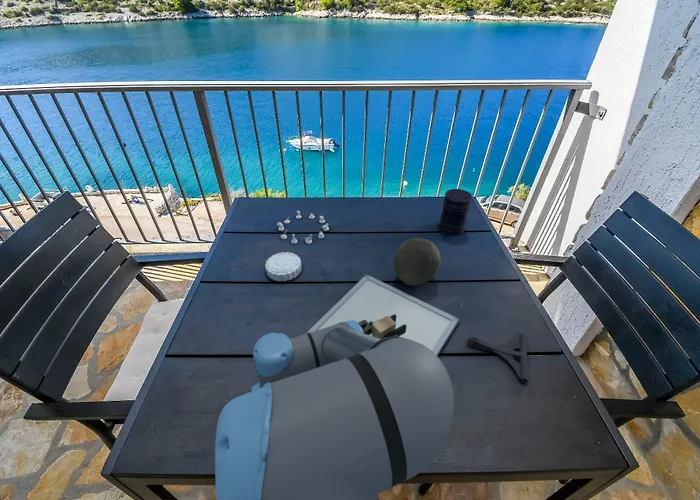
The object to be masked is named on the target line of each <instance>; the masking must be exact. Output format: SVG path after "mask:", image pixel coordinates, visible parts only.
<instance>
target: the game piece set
mask: <svg viewBox="0 0 700 500" xmlns="http://www.w3.org/2000/svg"><path fill="white" fill-rule="evenodd" d="M296 214H297V215H296V216H295V218H296V219H297V220H299V219H302V215H301V212H300V210H296ZM308 218H309V219H312V220H313V219H315V218H316V216H315V215H314V214H313V213H312V212H311V213H310V215H309V216H308ZM319 218H320V219H319V221H318V222H319V224H324V223H325V222H326V220H325V217H324V216H323V215H319ZM290 222H291V220H289V216H287V219H285V220H284V221H283V222H280V221H279V222H277V223H276V225H277V227H278V231H279V232H282V231H284V230H285V231H284V233H283V234H281V235H280V239H281V240H285V239H287V238H288V236H287V235H286V233H287V231H288V229H285V227H284V225H283V223H284V224H290ZM321 228H322V230H323V231H324V232H325V231H326V232H327V231H329V230H330V227H329V223H325V224H324V225H322V226H321ZM291 236H292V238H291V242H290V243H291V244H294V245H295V244H297V243H298V239H297V238H296V237H295V233H292V235H291ZM312 236H313V234H312V233H311V234H310V235H309V236H308V237H305V236H304V241H305V243H306V244H308V245H309V244H312V243H313V240H312V239H313V237H312ZM317 238H318V239H324V238H325V235H324V233H323V232H322V231H319V233H318V236H317Z"/></svg>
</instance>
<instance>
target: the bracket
mask: <svg viewBox="0 0 700 500" xmlns="http://www.w3.org/2000/svg"><path fill="white" fill-rule="evenodd" d="M467 344H468V346H470V347H471V348H475V349H479V350H482V351H486V352H490V353H493V354H496V355H498V356H499V357H501V358H502V359H504V360H505V361H506V362H507V363H508V364H509V365H510V366H511V367H512V369H513V370H514V372H515V373H516V375H517V378H518V379H520V382H521V383H529V372H528V371H529V370H528V350H527V349H528V348H527V335H526V334H525V333H520V334H519V335H518V336H517V337H516V338H515V339H514V340H513V341H512V342H510V343H508V344H502V345H498V344H492V343H489V342H488V341H487V342H486V341H484V340H482V339H480V338H477V337H476V336H470V337H468V339H467ZM518 350H519V351H518ZM516 360H519V362H518V361H516Z"/></svg>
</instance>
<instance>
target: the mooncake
mask: <svg viewBox="0 0 700 500" xmlns="http://www.w3.org/2000/svg"><path fill="white" fill-rule="evenodd" d="M264 268H265V273H266V276H267V277H269V279H271V280H273V281H275V282H276V281H277V282H287V281H292V280H293V279H295V278H297V276H299V275H300V274H301V272H302V260H301V257H300V256H299V255H298V254H295V253H294V252H289V251H286V252H284V251H281V252H278V253H275V254H273V255H271V257H269V258H268V259H267V260H266V261H265V265H264Z"/></svg>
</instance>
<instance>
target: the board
mask: <svg viewBox="0 0 700 500" xmlns="http://www.w3.org/2000/svg"><path fill="white" fill-rule="evenodd" d="M394 314H395V315H396V329H397V328H398V327H400V326H402V325H404V324H405V325H406V326H407V327H406V333H404V334H403V335H401V336H399V337H402V338H406V339H410V340H413V341H416V342H418V343H420V344H423V345H424V346H426V347H427V348H429V349H430V350H431V351H432V352H433V353H434V354H435V355H436V356H437V357H439V354H440V353H441V352H442V349H443V348H444V346H445V345H446V343H447V342H448V340H449V338H450V337H451V335H452V334H453V332H454V331H455V329H456V327H457V325H458V324H459V321H460V319H459V318H458V317H456V316H454V315H451V314H450V313H447V312H446V311H443V310H441V309H440V308H438V307H435V306H434V305H431V304H430V303H427V302H425V301H423V300H421V299H418V298H416V297H414V296H412V295H411V294H408V293H406V292H404V291H402V290H400V289H397V288H396V287H394V286H392V285H389V284H388V283H385V282H383V281H381V280H379V279H377V278H375V277H373V276H370V275H369V274H365V275H363V277H362V278H361V279H360V280H359V281H358V282H357V283H355V284H354V285H353V287H352V288H351V289H350V290H349V291H348V292H347V293H345V294H344V296H342V298H341V299H340V300H339V301H337V302H336V303H335V304H334V305H333V306H332V307H331V308H330V309H329V310H328V311H327V312H326V313H325V314H323V316H322V317H321V318H320V319H319V320H318V321H317V322H316V323H315V324H314V325H313V326H312V327H310V329H309V330H308V331H306V332H305V334H308V333H311V332H314V331H317V330H321V329H324V328H327V327H330V326H333V325H336V324H338V323H340V322H346V321H350V320H355V321H357V322H360V321H363V320H366V321H367V322H368V323H369V322H370V321H372V322H373V323H374V322H376V321H378V320H379V319H382V318H384V317H386V316H389V317H390V316H392V315H394ZM371 334H372V333H371ZM371 334H370V336H371Z"/></svg>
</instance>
